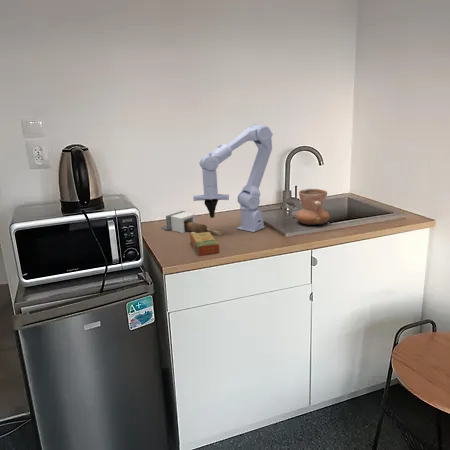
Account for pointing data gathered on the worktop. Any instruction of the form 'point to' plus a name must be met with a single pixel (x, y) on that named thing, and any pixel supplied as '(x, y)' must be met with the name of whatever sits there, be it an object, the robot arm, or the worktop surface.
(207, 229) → the guide
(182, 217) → the block
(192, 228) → the dowel
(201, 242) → the carton
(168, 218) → the wall
